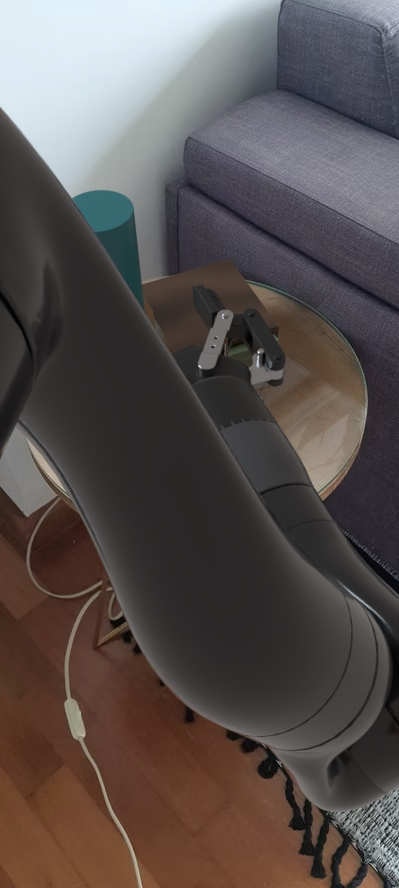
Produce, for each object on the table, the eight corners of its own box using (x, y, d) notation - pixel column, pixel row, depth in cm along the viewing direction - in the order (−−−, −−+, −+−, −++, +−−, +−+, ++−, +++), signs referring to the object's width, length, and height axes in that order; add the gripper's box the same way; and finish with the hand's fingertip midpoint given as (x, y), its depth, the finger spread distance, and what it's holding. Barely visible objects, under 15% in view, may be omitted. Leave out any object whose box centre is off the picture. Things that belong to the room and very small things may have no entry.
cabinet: (274, 377, 86) (279, 325, 79) (181, 408, 83) (178, 358, 77) (228, 310, 94) (229, 258, 87) (142, 337, 91) (136, 285, 84)
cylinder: (94, 347, 65) (73, 239, 55) (75, 308, 68) (53, 200, 58) (154, 329, 66) (143, 220, 56) (133, 291, 69) (119, 183, 60)
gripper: (340, 391, 42) (230, 243, 52) (121, 468, 39) (45, 295, 48) (325, 462, 48) (228, 319, 57) (134, 534, 45) (64, 370, 54)
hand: (145, 308), depth 53 cm, fingers open, 8 cm apart
